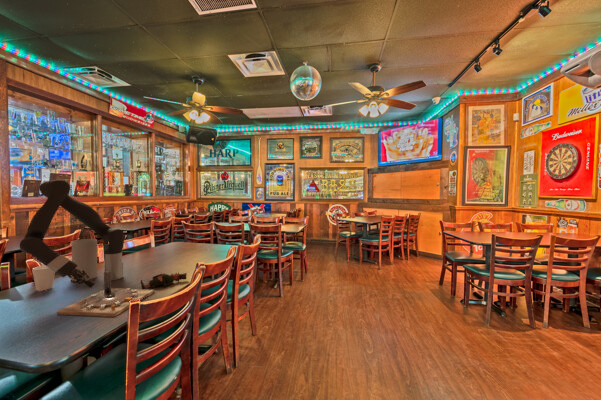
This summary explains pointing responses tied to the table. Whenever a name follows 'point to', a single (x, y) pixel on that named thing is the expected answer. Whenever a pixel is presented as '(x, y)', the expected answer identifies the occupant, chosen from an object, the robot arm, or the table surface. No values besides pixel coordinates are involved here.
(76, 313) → the base board
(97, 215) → the robot arm
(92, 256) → the cylinder vase
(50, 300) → the table surface
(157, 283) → the leprechaun
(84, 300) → the sprocket
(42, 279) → the foam cup
